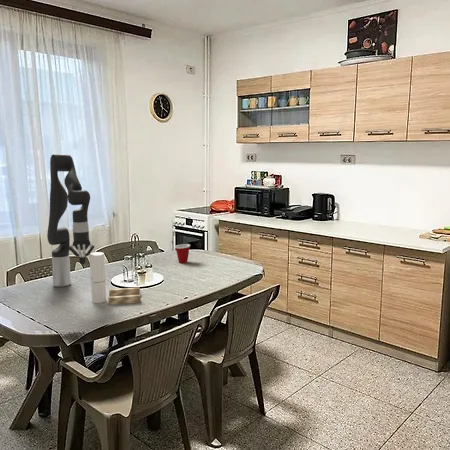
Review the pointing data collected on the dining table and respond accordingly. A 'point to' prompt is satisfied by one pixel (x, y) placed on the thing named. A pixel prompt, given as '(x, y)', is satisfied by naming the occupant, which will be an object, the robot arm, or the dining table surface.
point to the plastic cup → (182, 252)
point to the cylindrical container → (97, 277)
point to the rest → (124, 295)
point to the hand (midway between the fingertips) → (82, 264)
